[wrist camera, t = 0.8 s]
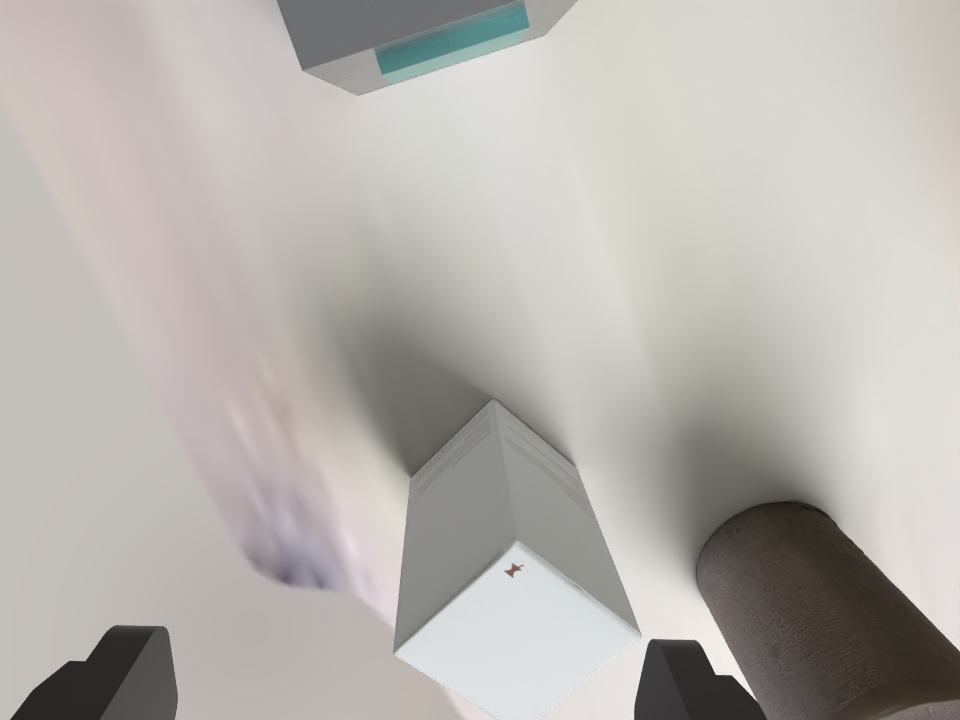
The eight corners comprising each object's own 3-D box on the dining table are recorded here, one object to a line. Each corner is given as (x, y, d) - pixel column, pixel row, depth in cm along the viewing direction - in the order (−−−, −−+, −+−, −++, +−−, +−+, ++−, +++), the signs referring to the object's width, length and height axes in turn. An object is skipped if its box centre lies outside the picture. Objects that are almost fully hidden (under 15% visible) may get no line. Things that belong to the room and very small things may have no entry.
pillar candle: (805, 473, 36) (1026, 689, 22) (867, 574, 39) (1096, 822, 25) (666, 552, 38) (789, 799, 24) (736, 644, 41) (881, 911, 27)
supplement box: (406, 478, 35) (383, 654, 23) (493, 393, 33) (518, 535, 21) (495, 547, 37) (516, 741, 25) (582, 470, 35) (649, 639, 23)
